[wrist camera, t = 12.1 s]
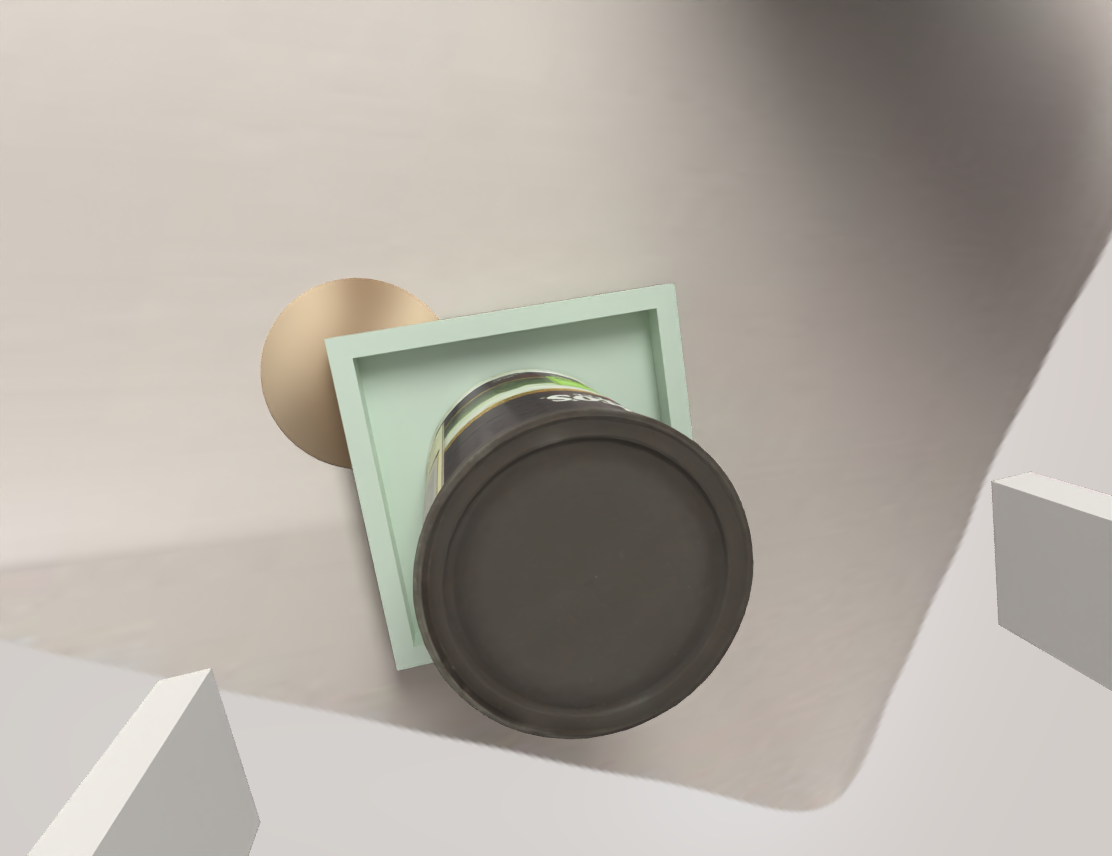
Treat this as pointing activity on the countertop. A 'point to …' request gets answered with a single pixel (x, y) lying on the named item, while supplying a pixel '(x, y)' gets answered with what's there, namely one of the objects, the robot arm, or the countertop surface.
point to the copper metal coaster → (325, 356)
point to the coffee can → (574, 558)
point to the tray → (458, 365)
